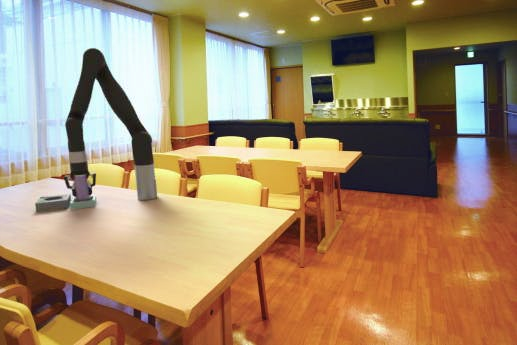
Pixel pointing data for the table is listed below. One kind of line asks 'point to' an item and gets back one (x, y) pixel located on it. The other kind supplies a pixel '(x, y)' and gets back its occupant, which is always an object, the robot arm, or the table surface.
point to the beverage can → (81, 188)
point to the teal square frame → (83, 203)
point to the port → (53, 202)
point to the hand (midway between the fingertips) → (82, 195)
